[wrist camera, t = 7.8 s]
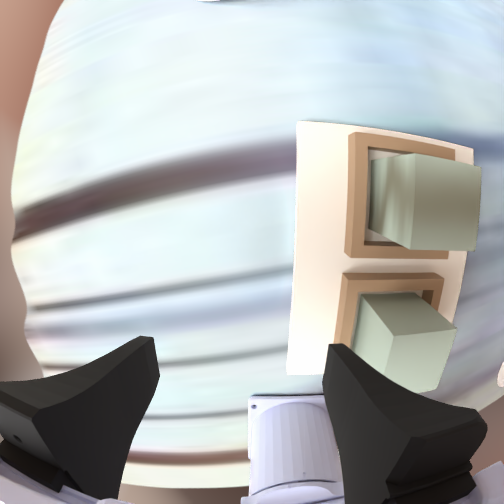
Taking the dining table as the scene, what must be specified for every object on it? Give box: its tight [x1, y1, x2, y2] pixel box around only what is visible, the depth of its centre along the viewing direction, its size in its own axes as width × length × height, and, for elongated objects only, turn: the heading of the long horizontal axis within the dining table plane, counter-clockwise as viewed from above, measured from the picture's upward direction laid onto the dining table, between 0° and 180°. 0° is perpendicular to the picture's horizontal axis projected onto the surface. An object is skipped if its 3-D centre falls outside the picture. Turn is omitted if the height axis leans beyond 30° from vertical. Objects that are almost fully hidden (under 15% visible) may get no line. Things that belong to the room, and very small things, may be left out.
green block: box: [368, 153, 481, 251], centre depth 15 cm, size 4×4×6 cm
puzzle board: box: [287, 121, 474, 393], centre depth 16 cm, size 18×14×7 cm
